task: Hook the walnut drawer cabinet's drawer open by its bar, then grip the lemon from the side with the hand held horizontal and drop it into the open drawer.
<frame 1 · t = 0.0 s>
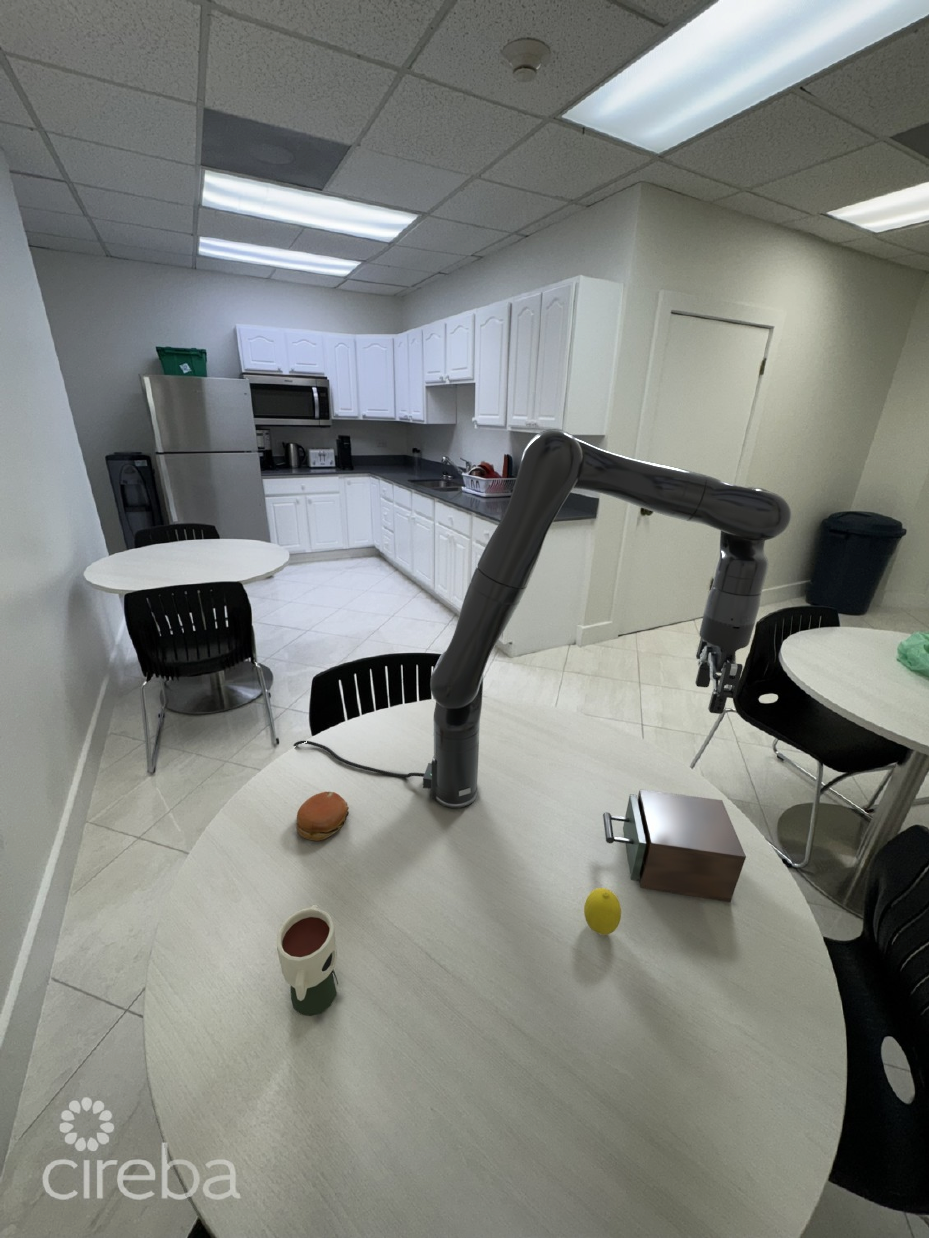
hand: (708, 698, 87), 29 cm above the table, tool pointing down, fingers open, 8 cm apart
character mug: (315, 994, 69), on the table
cabinet: (676, 864, 90), on the table
drawer: (655, 838, 88), point 5 cm above the table, slide at 0.5 cm
lemon: (598, 929, 78), on the table
burger: (323, 823, 97), on the table
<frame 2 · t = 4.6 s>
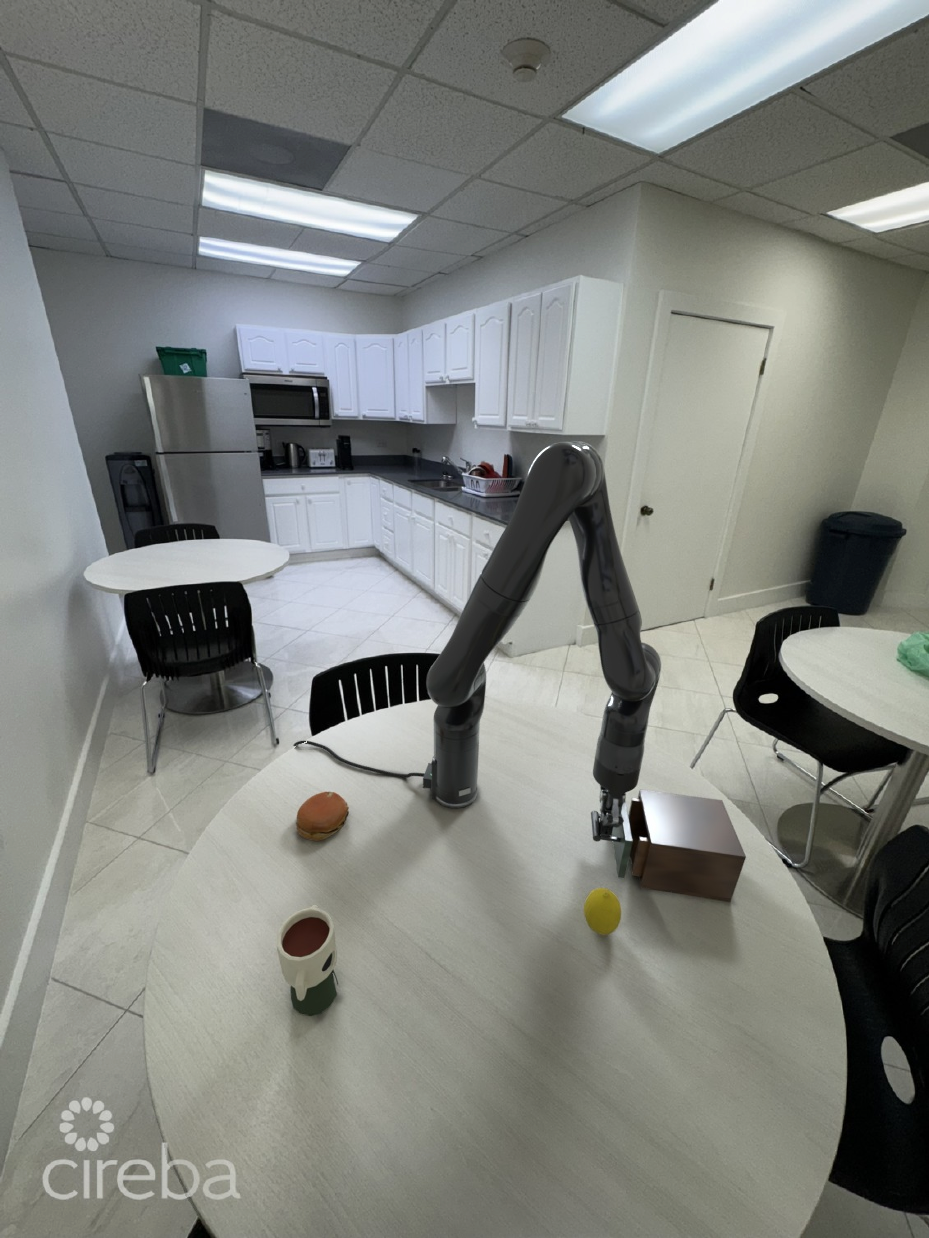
hand: (604, 832, 90), 5 cm above the table, tool pointing down, fingers closed
drawer: (642, 836, 88), point 5 cm above the table, slide at 2.7 cm, touching gripper
everything else where it was.
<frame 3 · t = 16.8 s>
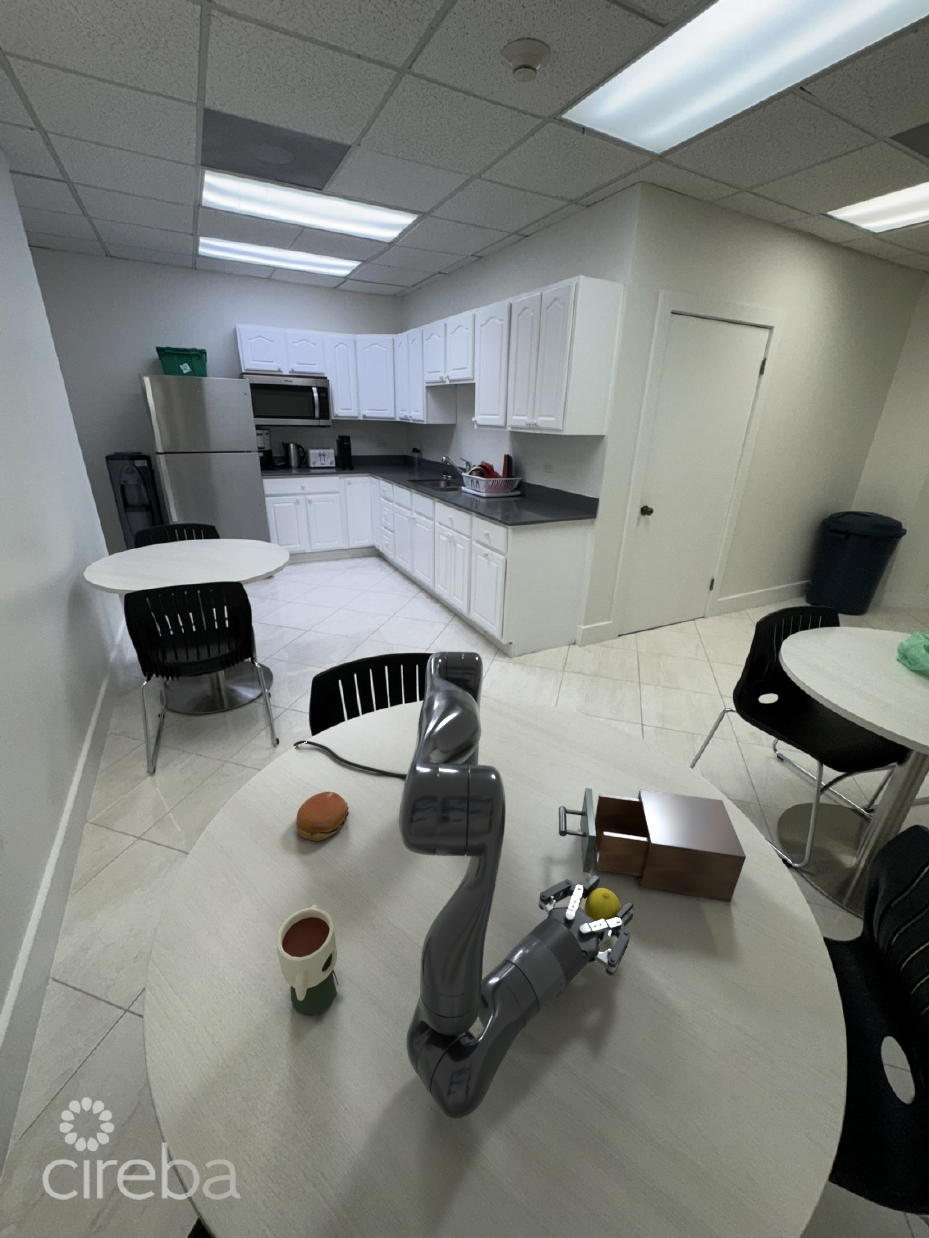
hand: (613, 892, 77), 6 cm above the table, tool horizontal, fingers closed on lemon, 5 cm apart
drawer: (608, 831, 89), point 5 cm above the table, slide at 8.7 cm
lemon: (598, 929, 78), on the table, touching gripper
everything else where it was.
when the fingers open (13 cm above the table, at t = 23.7 s): lemon drops 5 cm, resting on drawer.
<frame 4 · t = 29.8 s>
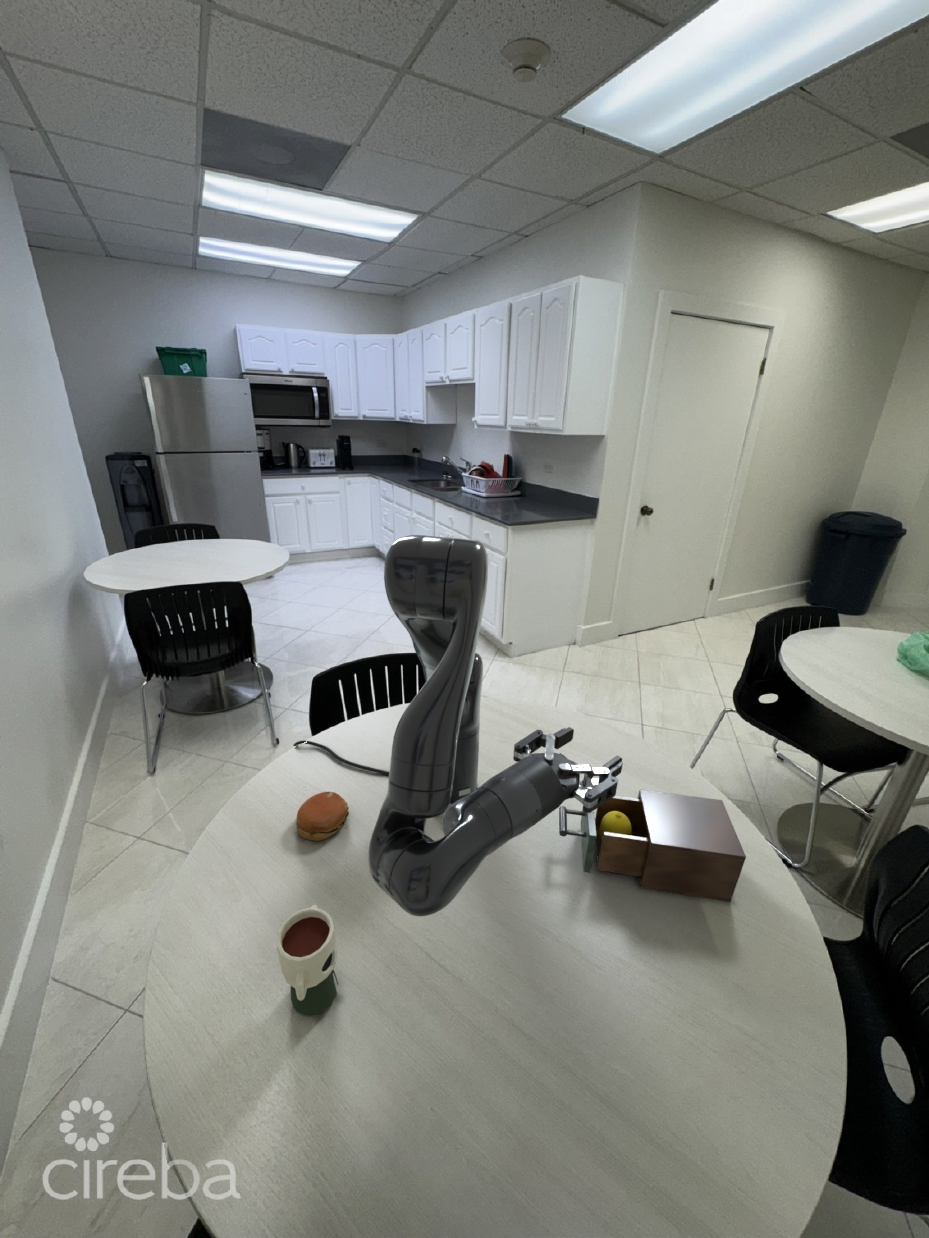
hand: (594, 746, 73), 30 cm above the table, tool horizontal, fingers open, 8 cm apart
drawer: (609, 831, 89), point 5 cm above the table, slide at 8.6 cm, touching lemon
lemon: (612, 847, 90), point 2 cm above the table, touching drawer
everything else where it was.
at the end: drawer slide at 8.6 cm; lemon inside the target area in the drawer (1.7 cm from its centre), point 1.8 cm above the cabinet's base; lemon touching drawer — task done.
